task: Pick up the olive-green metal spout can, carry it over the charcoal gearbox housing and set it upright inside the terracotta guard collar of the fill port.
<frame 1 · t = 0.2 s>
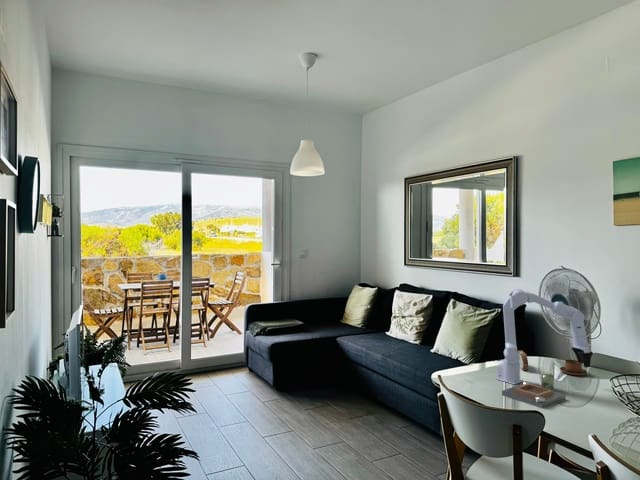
hand: (584, 364, 203), 11 cm above the table, tool pointing down, fingers open, 7 cm apart
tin: (521, 368, 234), on the table
gearbox: (533, 397, 190), on the table
cup and saucer: (573, 374, 225), on the table
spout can: (547, 389, 200), on the table
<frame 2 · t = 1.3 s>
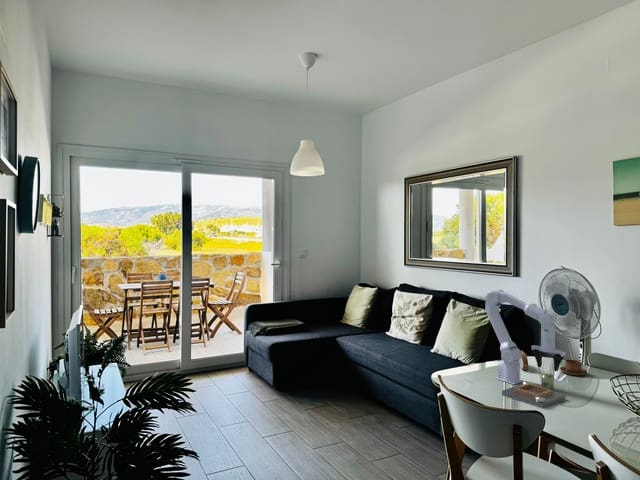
hand: (547, 368, 200), 9 cm above the table, tool pointing down, fingers open, 7 cm apart
nothing on the table moved.
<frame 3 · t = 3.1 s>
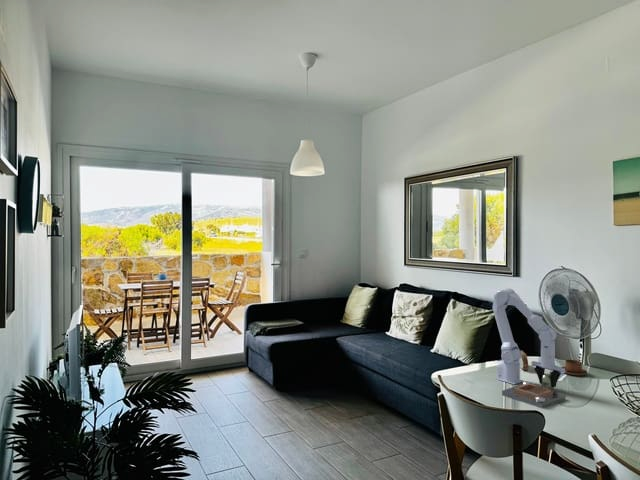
hand: (547, 385, 200), 2 cm above the table, tool pointing down, fingers closed on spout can, 5 cm apart
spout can: (547, 389, 200), on the table, touching gripper
everything else where it was.
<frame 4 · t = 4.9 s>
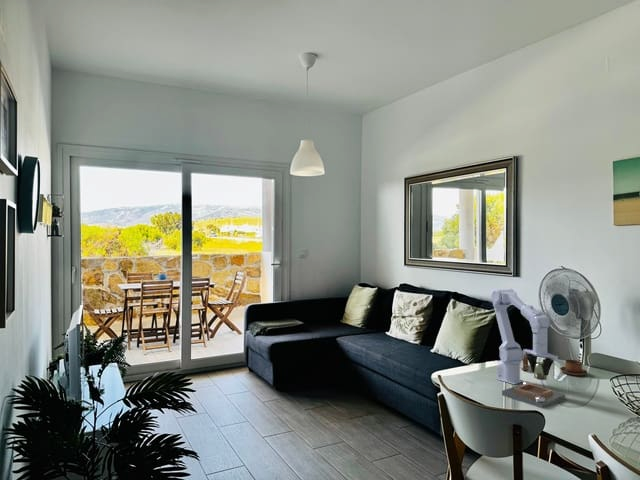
hand: (540, 373, 195), 9 cm above the table, tool pointing down, fingers closed on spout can, 5 cm apart
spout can: (540, 378, 195), point 7 cm above the table, touching gripper
everything else where it was.
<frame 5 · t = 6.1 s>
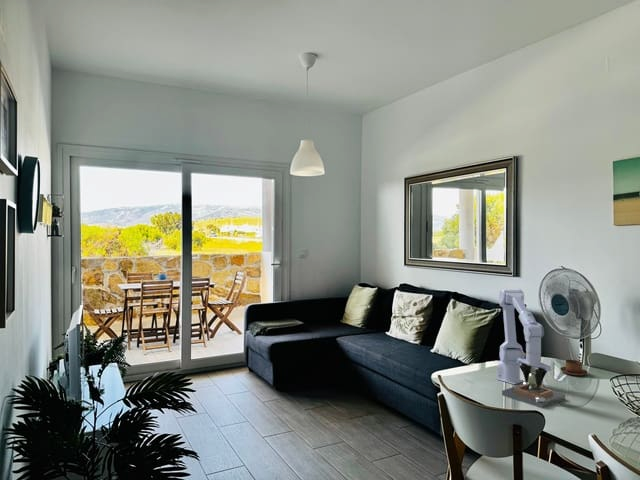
hand: (533, 383, 190), 6 cm above the table, tool pointing down, fingers closed on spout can, 5 cm apart
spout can: (533, 388, 190), point 4 cm above the table, touching gripper
everything else where it was.
when the fingers open (6 cm above the table, at t = 6.8 s): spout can drops 2 cm, resting on gearbox.
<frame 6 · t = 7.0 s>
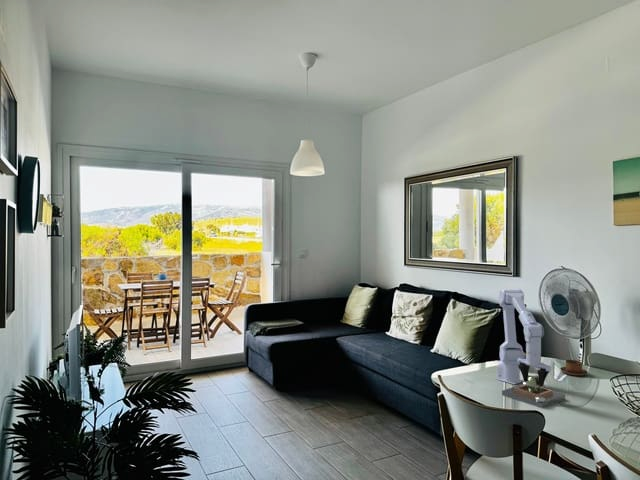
hand: (533, 383, 190), 6 cm above the table, tool pointing down, fingers open, 7 cm apart
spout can: (533, 392, 191), point 2 cm above the table, touching gearbox
everything else where it was.
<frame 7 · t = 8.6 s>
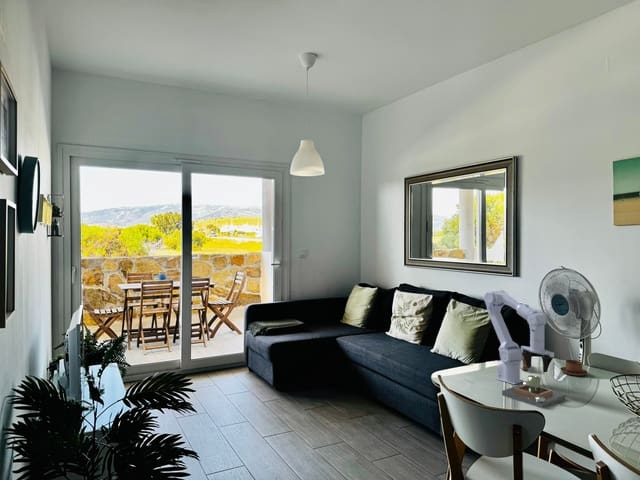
hand: (537, 369, 199), 9 cm above the table, tool pointing down, fingers open, 7 cm apart
nothing on the table moved.
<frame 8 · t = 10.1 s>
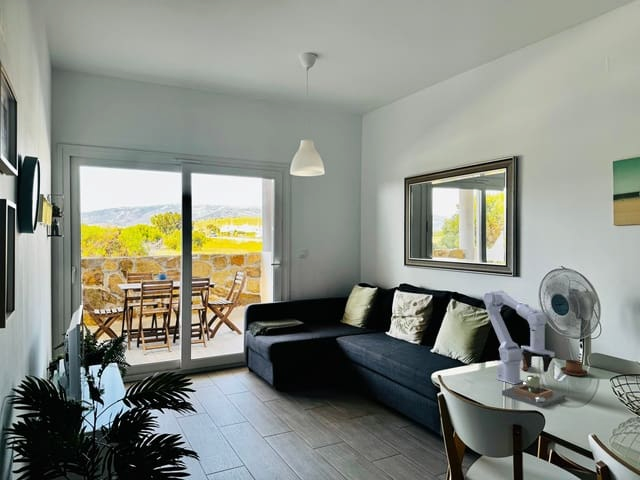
hand: (537, 369, 199), 9 cm above the table, tool pointing down, fingers open, 7 cm apart
nothing on the table moved.
at the end: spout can 0.4 cm off-centre on the gearbox, point 2.1 cm above the gearbox's base; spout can tilted 3°; the gripper is holding nothing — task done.
